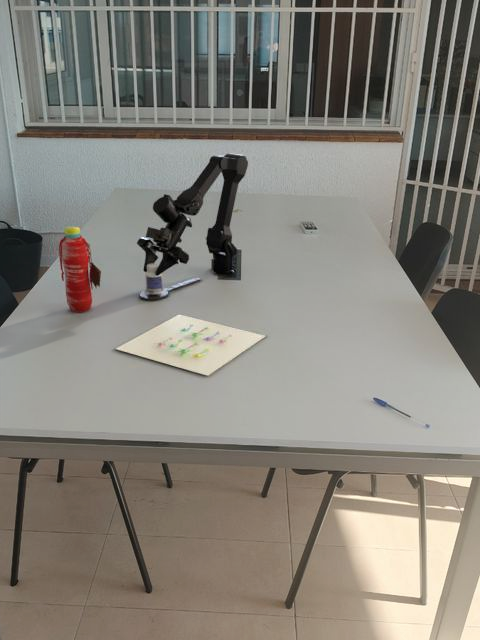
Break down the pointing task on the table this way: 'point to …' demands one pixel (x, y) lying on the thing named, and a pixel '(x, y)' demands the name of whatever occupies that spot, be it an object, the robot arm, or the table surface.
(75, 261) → the water bottle
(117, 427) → the table surface
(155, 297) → the spoon
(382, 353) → the table surface
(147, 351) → the printed paper
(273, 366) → the table surface
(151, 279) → the pill bottle
